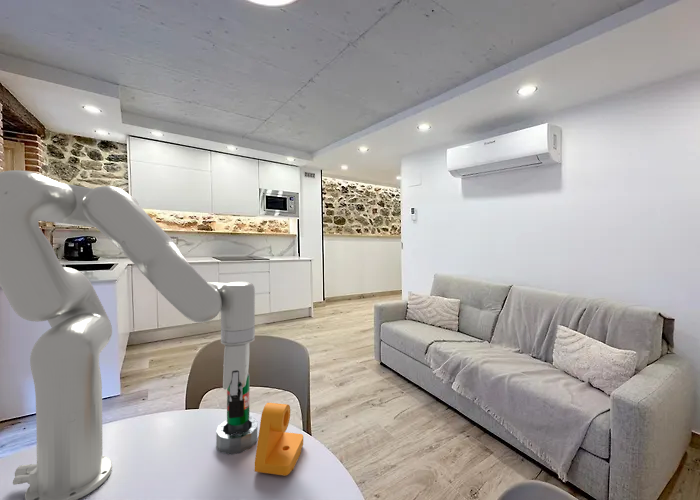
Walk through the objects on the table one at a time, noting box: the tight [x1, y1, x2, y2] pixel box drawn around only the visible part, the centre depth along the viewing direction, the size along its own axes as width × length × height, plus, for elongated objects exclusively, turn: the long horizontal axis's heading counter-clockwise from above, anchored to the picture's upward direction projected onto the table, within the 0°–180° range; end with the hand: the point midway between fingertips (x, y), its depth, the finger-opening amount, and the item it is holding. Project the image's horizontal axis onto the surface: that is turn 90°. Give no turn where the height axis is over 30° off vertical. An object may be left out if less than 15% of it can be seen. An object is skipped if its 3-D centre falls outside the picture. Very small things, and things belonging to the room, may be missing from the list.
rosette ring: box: [215, 416, 258, 455], centre depth 74 cm, size 9×9×4 cm
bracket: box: [254, 402, 304, 476], centre depth 68 cm, size 11×7×12 cm, turn 171°
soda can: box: [226, 372, 251, 426], centre depth 74 cm, size 5×5×12 cm
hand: (237, 409), depth 74 cm, fingers closed on soda can, 5 cm apart
